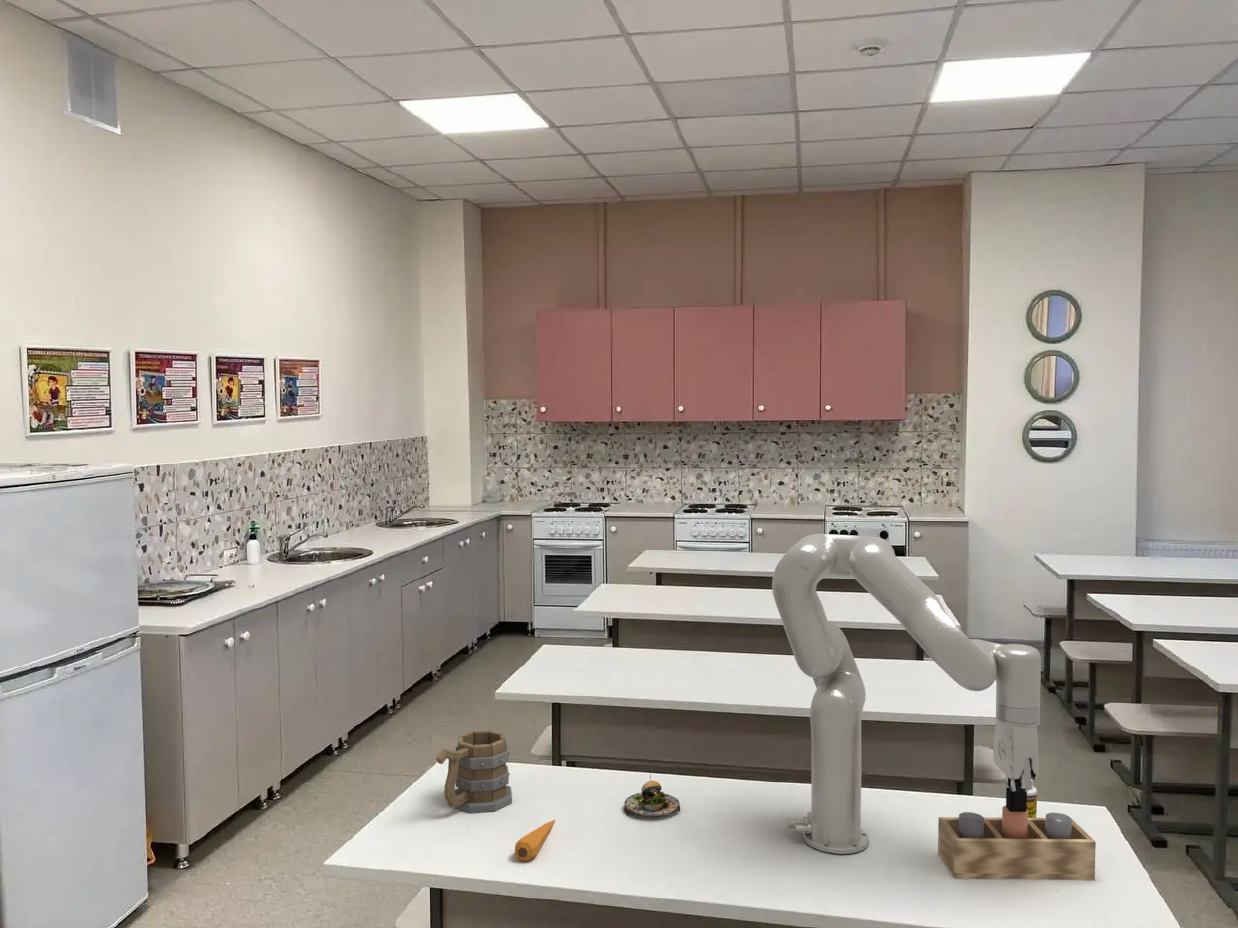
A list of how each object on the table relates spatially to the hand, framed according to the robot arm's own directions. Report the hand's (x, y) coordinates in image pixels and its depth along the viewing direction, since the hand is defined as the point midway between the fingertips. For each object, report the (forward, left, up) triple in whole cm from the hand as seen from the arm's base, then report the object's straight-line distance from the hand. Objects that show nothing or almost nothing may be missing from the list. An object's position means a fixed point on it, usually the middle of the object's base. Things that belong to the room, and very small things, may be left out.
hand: (1016, 809), depth 178 cm
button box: (0, 0, -11) cm, 11 cm away
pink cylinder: (0, 0, -7) cm, 7 cm away
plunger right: (+8, 0, -8) cm, 11 cm away
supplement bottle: (+8, +17, -11) cm, 22 cm away
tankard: (-106, +25, -11) cm, 110 cm away
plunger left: (-8, 0, -8) cm, 12 cm away
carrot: (-89, +9, -11) cm, 90 cm away
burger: (-67, +24, -11) cm, 72 cm away
